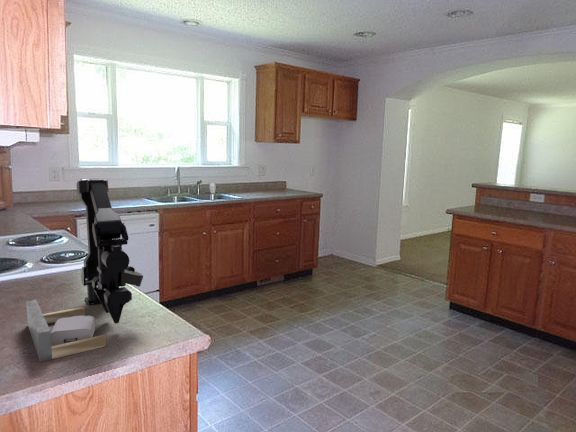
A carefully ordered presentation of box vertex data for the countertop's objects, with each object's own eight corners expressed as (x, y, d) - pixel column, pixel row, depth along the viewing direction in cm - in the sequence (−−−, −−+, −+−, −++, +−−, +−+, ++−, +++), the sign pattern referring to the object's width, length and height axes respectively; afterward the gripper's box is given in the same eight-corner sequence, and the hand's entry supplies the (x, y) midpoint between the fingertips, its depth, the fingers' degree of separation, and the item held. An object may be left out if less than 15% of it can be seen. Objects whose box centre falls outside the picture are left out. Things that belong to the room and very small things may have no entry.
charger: (97, 322, 122) (91, 345, 108) (61, 326, 119) (50, 350, 105) (96, 307, 121) (90, 327, 107) (60, 310, 118) (49, 332, 104)
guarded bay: (27, 325, 118) (26, 301, 117) (84, 314, 127) (83, 292, 126) (39, 361, 99) (37, 333, 97) (106, 346, 107) (104, 319, 106)
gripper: (150, 267, 114) (151, 322, 117) (130, 253, 129) (131, 302, 132) (106, 273, 108) (109, 331, 110) (90, 257, 123) (92, 309, 125)
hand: (112, 317), depth 119 cm, fingers open, 9 cm apart
